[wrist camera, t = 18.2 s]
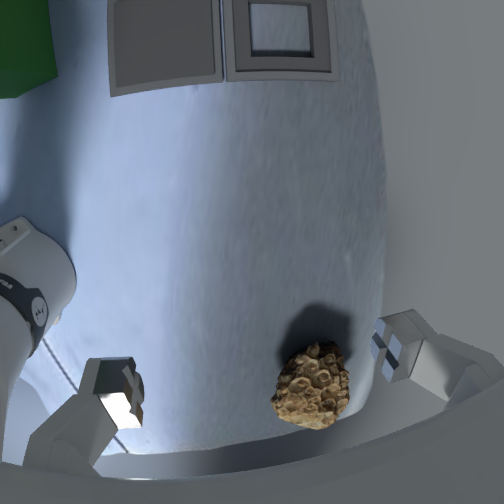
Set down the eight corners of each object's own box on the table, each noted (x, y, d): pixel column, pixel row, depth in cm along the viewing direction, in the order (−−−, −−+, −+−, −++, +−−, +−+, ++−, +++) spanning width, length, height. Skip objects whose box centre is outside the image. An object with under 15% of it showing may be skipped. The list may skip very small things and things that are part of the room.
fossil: (354, 399, 62) (344, 457, 49) (290, 396, 67) (271, 450, 55) (352, 315, 53) (343, 380, 40) (273, 315, 58) (245, 374, 45)
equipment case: (112, 97, 34) (107, 96, 32) (109, -3, 28) (105, -7, 26) (333, 81, 37) (339, 81, 35) (326, -14, 31) (331, -18, 29)
